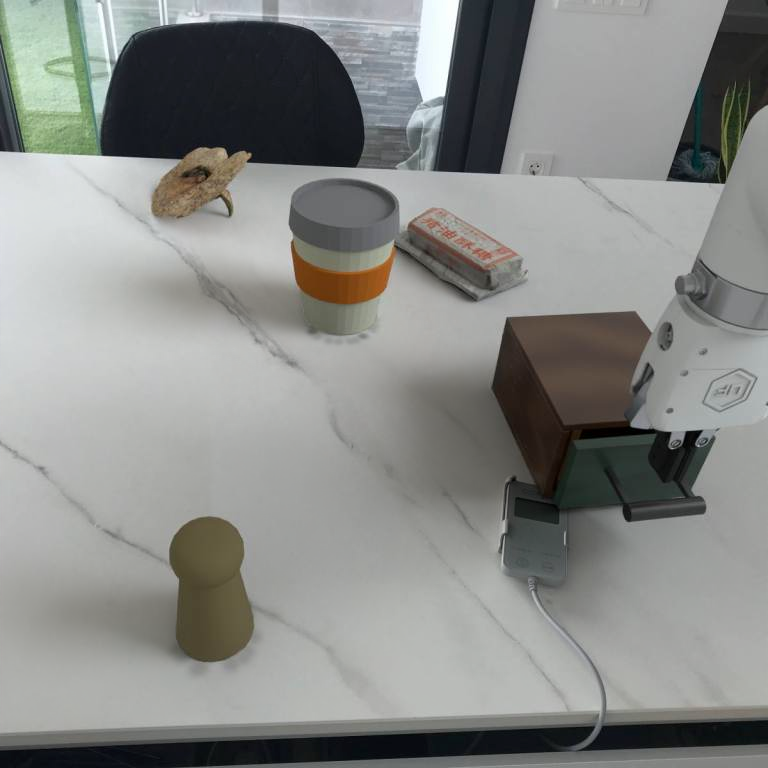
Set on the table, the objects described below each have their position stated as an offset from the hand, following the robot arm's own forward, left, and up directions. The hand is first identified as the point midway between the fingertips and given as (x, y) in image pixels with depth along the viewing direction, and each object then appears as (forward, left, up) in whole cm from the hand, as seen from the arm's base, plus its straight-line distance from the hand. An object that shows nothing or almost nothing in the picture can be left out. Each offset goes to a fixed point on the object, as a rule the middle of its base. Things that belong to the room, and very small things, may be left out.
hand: (663, 470), depth 66 cm
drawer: (+8, 0, -8) cm, 11 cm away
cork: (-4, +38, -9) cm, 39 cm away
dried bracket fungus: (+67, +39, -9) cm, 78 cm away
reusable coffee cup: (+38, +22, -9) cm, 44 cm away
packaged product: (+49, +4, -9) cm, 50 cm away
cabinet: (+14, 0, -9) cm, 16 cm away
